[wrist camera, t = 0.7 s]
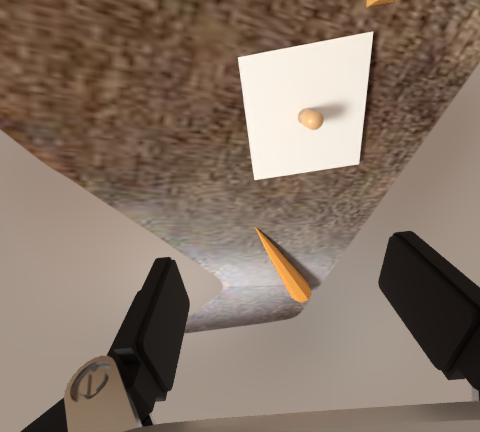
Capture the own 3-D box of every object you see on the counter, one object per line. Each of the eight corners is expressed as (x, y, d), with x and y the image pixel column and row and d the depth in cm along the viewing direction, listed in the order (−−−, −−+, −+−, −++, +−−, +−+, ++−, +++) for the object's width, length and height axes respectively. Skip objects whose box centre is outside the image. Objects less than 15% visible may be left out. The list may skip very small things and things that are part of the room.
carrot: (306, 284, 50) (318, 295, 46) (291, 297, 50) (301, 309, 46) (259, 215, 44) (268, 221, 39) (241, 229, 43) (248, 237, 39)
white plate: (238, 58, 29) (238, 52, 24) (368, 33, 27) (397, 22, 22) (254, 177, 36) (256, 191, 32) (355, 161, 35) (374, 174, 30)
